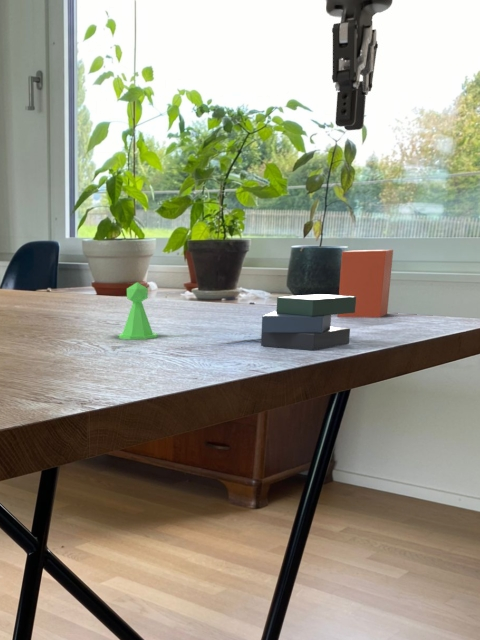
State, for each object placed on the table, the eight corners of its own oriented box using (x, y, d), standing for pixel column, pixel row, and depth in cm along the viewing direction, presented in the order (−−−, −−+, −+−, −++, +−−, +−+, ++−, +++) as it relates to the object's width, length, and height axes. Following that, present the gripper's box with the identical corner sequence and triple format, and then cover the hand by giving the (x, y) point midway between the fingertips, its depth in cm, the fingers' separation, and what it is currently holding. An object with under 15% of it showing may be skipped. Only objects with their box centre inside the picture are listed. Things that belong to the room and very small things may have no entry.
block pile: (291, 338, 86) (293, 293, 84) (360, 343, 80) (364, 295, 79) (241, 346, 81) (243, 298, 79) (311, 353, 75) (314, 301, 74)
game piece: (165, 342, 86) (165, 281, 84) (126, 345, 85) (126, 283, 82) (148, 338, 90) (148, 280, 88) (111, 341, 88) (110, 282, 86)
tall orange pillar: (346, 316, 105) (351, 250, 103) (387, 317, 103) (393, 249, 100) (336, 320, 101) (342, 251, 98) (379, 321, 99) (385, 250, 96)
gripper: (384, -60, 88) (369, 119, 94) (405, -27, 100) (391, 130, 106) (313, -47, 92) (303, 125, 97) (342, -17, 103) (331, 135, 109)
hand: (349, 127), depth 102 cm, fingers open, 4 cm apart
